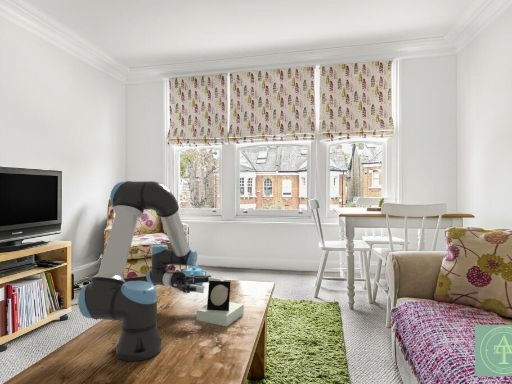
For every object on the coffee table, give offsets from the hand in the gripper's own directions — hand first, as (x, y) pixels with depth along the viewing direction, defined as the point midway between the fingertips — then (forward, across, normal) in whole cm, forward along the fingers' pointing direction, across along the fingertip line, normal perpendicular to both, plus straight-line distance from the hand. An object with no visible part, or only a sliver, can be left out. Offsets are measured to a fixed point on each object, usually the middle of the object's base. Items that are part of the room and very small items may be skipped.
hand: (212, 285), depth 148 cm
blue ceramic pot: (-35, -33, -14) cm, 50 cm away
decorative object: (+4, 0, -9) cm, 10 cm away
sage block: (+4, 0, -14) cm, 15 cm away
